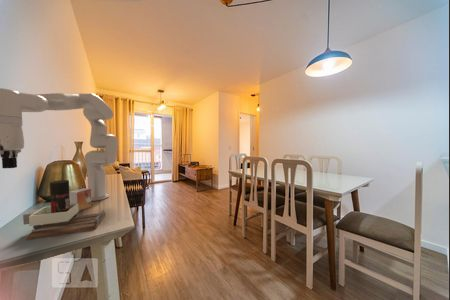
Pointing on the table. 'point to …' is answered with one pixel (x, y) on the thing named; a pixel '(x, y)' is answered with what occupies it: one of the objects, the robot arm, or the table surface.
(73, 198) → the small box
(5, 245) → the table surface
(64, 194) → the deodorant
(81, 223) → the rail board
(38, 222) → the white open tray
